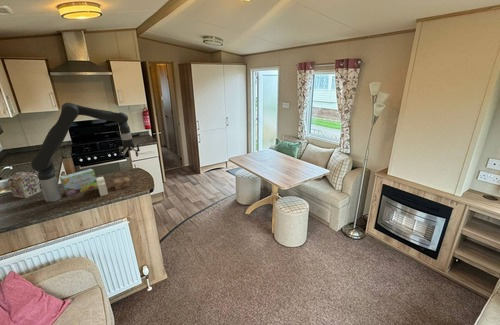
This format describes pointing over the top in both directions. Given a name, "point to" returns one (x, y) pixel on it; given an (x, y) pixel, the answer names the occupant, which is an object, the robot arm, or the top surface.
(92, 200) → the top surface
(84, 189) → the snack box
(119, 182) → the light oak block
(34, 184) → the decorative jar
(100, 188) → the cream rectangular block
